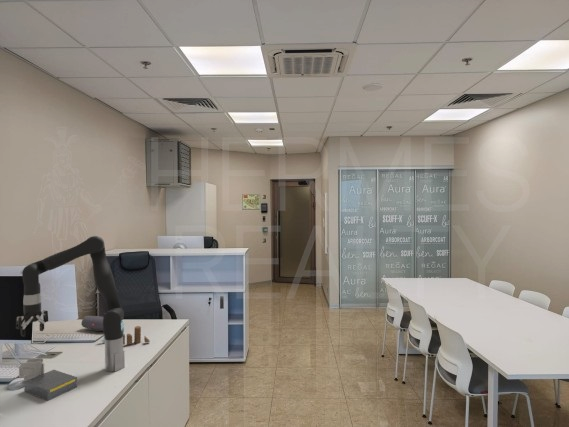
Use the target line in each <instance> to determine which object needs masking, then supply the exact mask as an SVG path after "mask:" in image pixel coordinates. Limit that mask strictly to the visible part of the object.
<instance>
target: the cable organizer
mask: <svg viewBox="0 0 569 427" xmlns="http://www.w3.org/2000/svg"><path fill="white" fill-rule="evenodd" d="M44 373H45V363H44V358H42V357H39V358H37V357H35V358H33V357H31V358H28V359H27V360H26V361H25V362H22V363H21V364H20V365H19V366H18V378H19V379H23V382H24V381H27V380H29V379H32V378H34V377H37V376H39V375H42V374H44Z"/></svg>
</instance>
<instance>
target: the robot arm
mask: <svg viewBox="0 0 569 427" xmlns="http://www.w3.org/2000/svg"><path fill="white" fill-rule="evenodd" d="M87 255H89V256H90V258H91V259H90V260H91V261H92V268H93V269H92V270H93V277H94V282H95V286H96V288H97V291H98V293H99V294H100V296H101V297H102V299H103V300H104V303H105V306H106V311H107V312H106V313H104V315H103V316H102V317H103V331H102V332H103V337H104V336H105V344H104V356H105V357H104V362H105V364H104V368H105V371H106V372H117V371H120V370H121V369H124V368H125V366H126V365H125V350H124V345H123V331H122V330H121V321H124V320H123V319H124V317H125V312H124V309H123V306H122V304H121V302H120V298H119V295H118V290H117V287H116V286H117V285H116V281H115V278H114V275H113V272H112V269H111V265H110V264H109V262H108V258H107V254H106V246H105V241H104V239H103V238H102V237H100V236H98V235H93V236H89V237H88V238H87V239H86V240H84V241H82V242H81V243H79V244H77V245H75V246H72V247H70V248H67V249H65V250H62V251H60V252H59V251H58V252H57V253H54V254H52V255H49V256H47V257H45V258H43V259H41V260H38V261H35V262H32V263H29V264H27V265H26V266H24V267H23V269H22V272H21V273H22V275H21V276H22V283H23V299H22V301H23V302H22V304H23V309H22V310H23V315H22V316H16V318H15V329H17V330H20V336H21V337H25V336H26V327H27V326H28V325H29V324H33V323H36V322H38V323H39V332H43V331H44V330H45V323H48V322H49V312H48V310H45V309H43V310H42V295H41V284H40V281H39V278H40V277H39V276H41V275H42V274H44V273H45V272H48V271H52V270H55V269H57V268H60V267H62V266H63V265H66V264H68V263H69V262H72V261H74V260H76V259H79V258H81V257H83V256H87ZM41 316H42V317H43V318H42V317H41Z"/></svg>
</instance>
